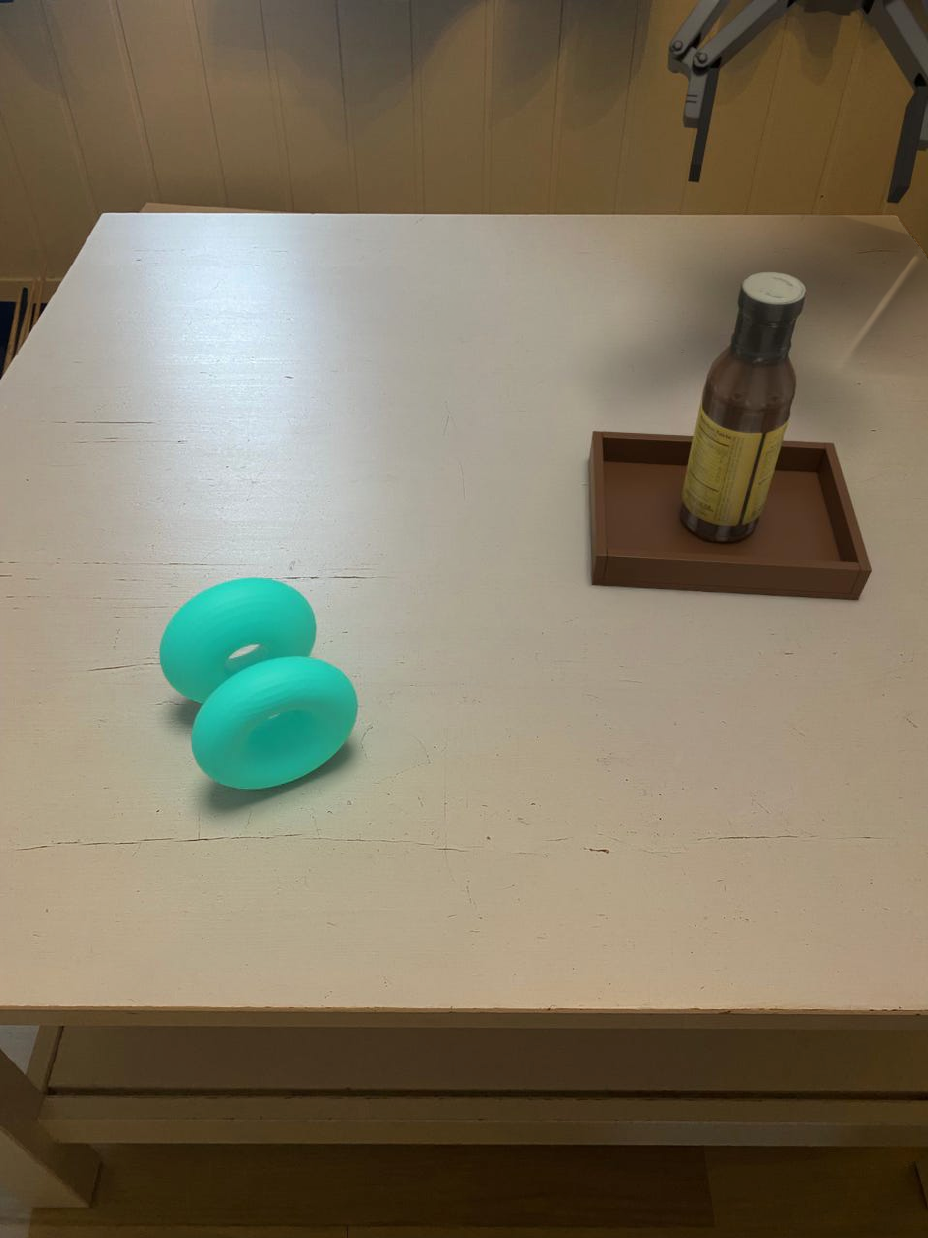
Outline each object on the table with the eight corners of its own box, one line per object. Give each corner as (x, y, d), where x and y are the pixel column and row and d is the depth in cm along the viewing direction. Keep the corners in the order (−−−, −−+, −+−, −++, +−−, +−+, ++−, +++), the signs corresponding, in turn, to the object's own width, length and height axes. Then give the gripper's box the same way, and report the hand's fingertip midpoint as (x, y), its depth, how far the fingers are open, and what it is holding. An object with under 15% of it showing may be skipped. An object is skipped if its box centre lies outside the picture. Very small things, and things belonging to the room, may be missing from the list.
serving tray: (822, 472, 79) (834, 442, 77) (858, 600, 70) (872, 570, 67) (588, 460, 80) (592, 430, 78) (591, 584, 70) (596, 555, 68)
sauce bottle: (738, 488, 77) (807, 256, 62) (769, 540, 73) (850, 305, 58) (663, 497, 76) (714, 264, 61) (690, 551, 72) (752, 315, 57)
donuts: (314, 650, 66) (297, 547, 58) (370, 758, 60) (358, 660, 53) (173, 701, 63) (136, 599, 55) (218, 820, 57) (182, 725, 50)
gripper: (1032, -88, 65) (966, 225, 67) (668, -109, 69) (614, 186, 71) (1083, -173, 58) (1008, 181, 59) (673, -191, 62) (613, 141, 63)
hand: (794, 184), depth 65 cm, fingers open, 13 cm apart
